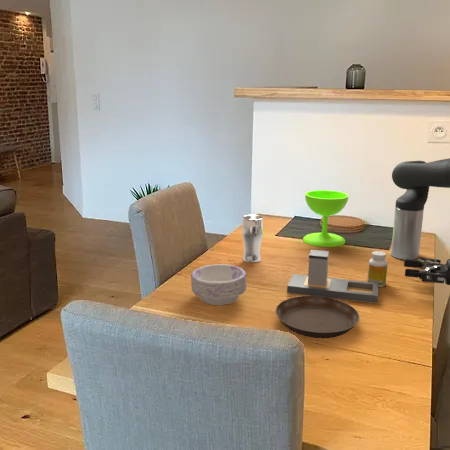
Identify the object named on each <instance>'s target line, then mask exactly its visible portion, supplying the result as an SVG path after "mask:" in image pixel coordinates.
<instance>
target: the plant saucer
mask: <svg viewBox="0 0 450 450" xmlns="http://www.w3.org/2000/svg"><path fill="white" fill-rule="evenodd" d="M275 314H276V316H277V319H278V320H279V321H280V323H282V325H283V326H285V328H287V329H288V330H289V331H290V332H292V333H295V334H297V335H300V336H301V337H305V338H306V337H307V338H311V339H332V338H334V339H335V338H337V337H340V336H343V335H346V334H347V333H349V332H350V331H352V330H353V329H354V328H355V327H356V326H357V324H358V322H359V321H360V314H359V312H358V311H357V310H356V308H354V307H353V306H352V305H350V304H349V303H347V302H344V301H342V300H341V299H335V298H328V297H322V296H310V295H301V296H300V295H299V296H293V297H290V298H287V299H285V300H283V301H281V302H280V303H278V305H277V306H276V308H275Z"/></svg>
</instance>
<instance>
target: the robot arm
mask: <svg viewBox="0 0 450 450" xmlns="http://www.w3.org/2000/svg"><path fill="white" fill-rule="evenodd" d="M391 180H392V181H393V184H394V185H395V186H397V188H399V189H403V190H406V191H405V192H404V193H403V194H401V196H399V197H397V198H396V201H395V207H394V218H393V226H392V227H393V228H392V229H393V230H392V238H391V239H392V240H391V251H390V256H392V257H394V258H396V259H399V260H403V267H405V269H404V271H405V272H404V276H405V277H406V278H417V279H419V280H421V282H423V283H432V284H433V283H435V284H445V285H447V286H450V258H447V260H446V263H445V264H444V263H441V262H442V261H441V260H440V259H436V258H428V257H427V258H426V257H419V255H420V247H421V238H422V231H423V230H422V229H423V220H424V213H425V212H424V209H425V204H426V203H427V201H428V198H429V191H430V187H433V188H443V189H444V188H445V189H447V188H448V189H450V158H443V159H440V160H434V161H428V162H426V161H424V160H411V161H410V160H409V161H408V160H407V161H403V162H399V163H398V164H397V165H395V167H394V168H393V170H392V172H391Z"/></svg>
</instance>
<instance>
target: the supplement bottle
mask: <svg viewBox="0 0 450 450" xmlns="http://www.w3.org/2000/svg"><path fill="white" fill-rule="evenodd" d="M386 256H387V254H386V252H384V251H381V250H378V251H377V250H376V251H372V252H371V258H370V259H369V261H368V268H367V279H366V282H374V283H378V288H380V287H384V286H386V284H387V273H388V260H386Z"/></svg>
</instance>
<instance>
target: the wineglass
mask: <svg viewBox="0 0 450 450" xmlns="http://www.w3.org/2000/svg"><path fill="white" fill-rule="evenodd" d="M304 195H305V202H306V205H307V206H308V207H309V209H310V210H311V211H313V212H314V213H315V214H317V215H319V216H321V217H322V222H321V223H322V224H321V226H322V227H321V232H313V233H308V234H306V235H305V236H303V238H302V241H303V242H304V243H305V244H307V245H311V246H313V247H314V246H315V247H321V248H335V247H341V246H343V245H345V244H346V240H345V238H344V237H342V236H340V235H338V234H335V233H330V232H328V222H329V220H328V219H329V217H330V216H335V215H336V214H339V212H341V211H342V210H343V209H344V208H345V207H346V205H347V203H348V200H349V194H348V193H346V192H344V191H343V192H342V191H337V190H327V189H326V190H325V189H322V190H319V189H317V190H316V189H315V190H310V191H307V192H305V193H304Z"/></svg>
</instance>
